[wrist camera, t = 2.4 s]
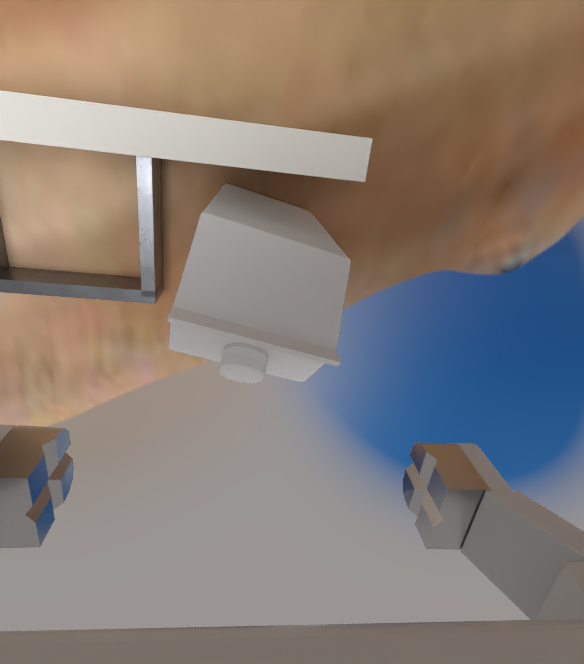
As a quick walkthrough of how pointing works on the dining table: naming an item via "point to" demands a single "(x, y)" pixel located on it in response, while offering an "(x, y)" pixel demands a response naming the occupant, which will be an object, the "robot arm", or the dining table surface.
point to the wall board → (181, 137)
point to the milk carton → (260, 290)
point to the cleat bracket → (105, 285)
